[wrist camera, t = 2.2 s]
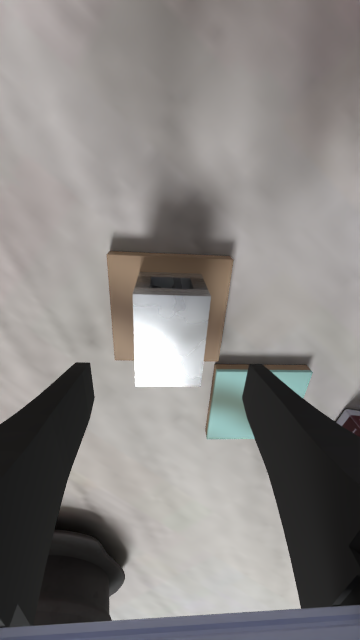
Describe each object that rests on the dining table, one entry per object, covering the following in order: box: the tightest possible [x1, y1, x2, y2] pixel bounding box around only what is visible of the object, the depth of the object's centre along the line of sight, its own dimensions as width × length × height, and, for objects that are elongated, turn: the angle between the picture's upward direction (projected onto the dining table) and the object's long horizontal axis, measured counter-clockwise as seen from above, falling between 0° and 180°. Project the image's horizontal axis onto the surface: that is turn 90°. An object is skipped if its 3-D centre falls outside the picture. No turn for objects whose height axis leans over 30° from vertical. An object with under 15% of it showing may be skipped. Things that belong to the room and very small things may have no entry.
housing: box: [133, 272, 211, 387], centre depth 16 cm, size 6×4×4 cm, turn 177°
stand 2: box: [205, 364, 313, 439], centre depth 23 cm, size 8×8×1 cm
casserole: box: [33, 530, 125, 626], centre depth 32 cm, size 25×19×8 cm
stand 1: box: [107, 251, 233, 361], centre depth 18 cm, size 8×8×1 cm
